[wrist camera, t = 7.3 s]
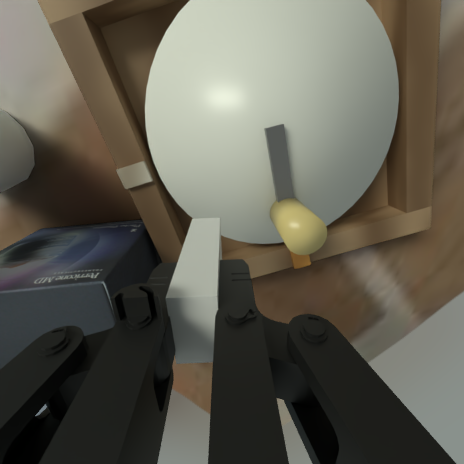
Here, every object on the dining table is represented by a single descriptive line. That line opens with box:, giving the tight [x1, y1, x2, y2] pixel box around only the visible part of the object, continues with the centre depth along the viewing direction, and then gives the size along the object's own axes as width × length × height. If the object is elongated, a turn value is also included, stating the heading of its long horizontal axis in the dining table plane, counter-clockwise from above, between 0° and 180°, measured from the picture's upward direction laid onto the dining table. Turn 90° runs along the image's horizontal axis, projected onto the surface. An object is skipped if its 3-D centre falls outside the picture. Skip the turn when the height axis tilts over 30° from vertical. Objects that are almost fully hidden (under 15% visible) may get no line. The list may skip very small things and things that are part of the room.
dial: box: [145, 0, 399, 255], centre depth 15 cm, size 17×17×6 cm
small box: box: [0, 219, 163, 369], centre depth 18 cm, size 11×6×10 cm, turn 95°
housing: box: [38, 0, 441, 279], centre depth 18 cm, size 22×22×4 cm
